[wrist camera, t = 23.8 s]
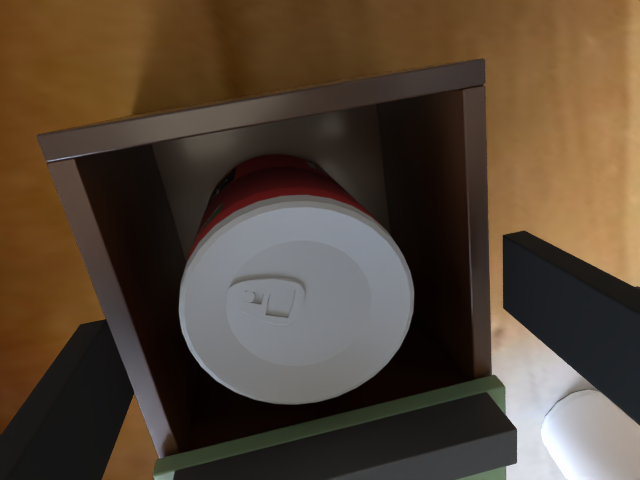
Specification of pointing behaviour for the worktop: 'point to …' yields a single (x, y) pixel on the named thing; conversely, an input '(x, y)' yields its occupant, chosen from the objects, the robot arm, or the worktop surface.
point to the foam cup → (592, 438)
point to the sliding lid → (372, 443)
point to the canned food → (292, 285)
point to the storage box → (344, 167)
